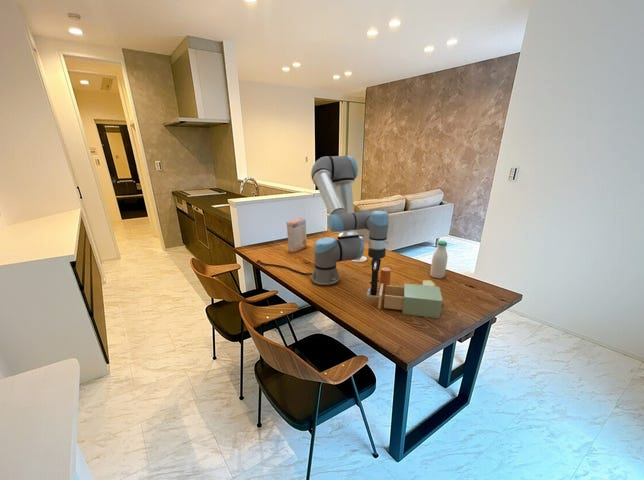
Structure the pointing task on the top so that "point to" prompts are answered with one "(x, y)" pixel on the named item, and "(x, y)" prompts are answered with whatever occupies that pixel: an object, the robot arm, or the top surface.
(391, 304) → the drawer
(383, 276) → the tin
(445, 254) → the milk bottle
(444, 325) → the top surface
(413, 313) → the cabinet
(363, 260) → the white post on base
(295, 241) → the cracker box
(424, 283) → the stacked layers on plate
